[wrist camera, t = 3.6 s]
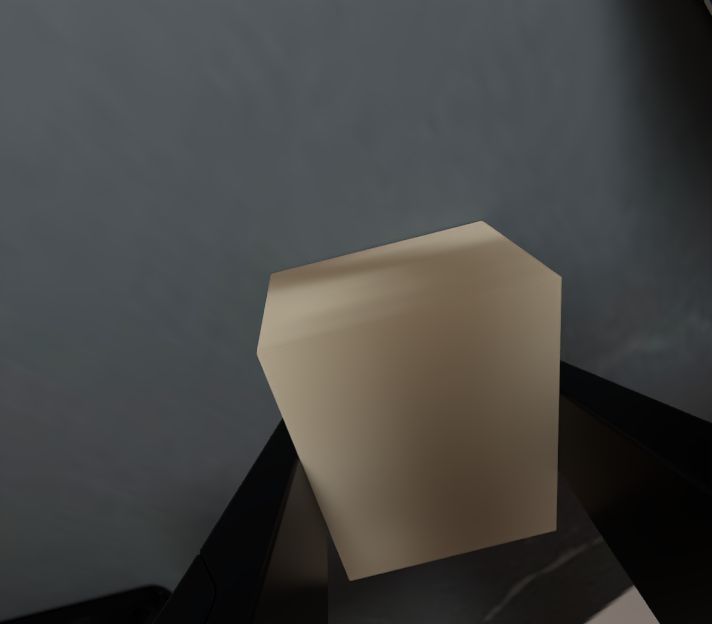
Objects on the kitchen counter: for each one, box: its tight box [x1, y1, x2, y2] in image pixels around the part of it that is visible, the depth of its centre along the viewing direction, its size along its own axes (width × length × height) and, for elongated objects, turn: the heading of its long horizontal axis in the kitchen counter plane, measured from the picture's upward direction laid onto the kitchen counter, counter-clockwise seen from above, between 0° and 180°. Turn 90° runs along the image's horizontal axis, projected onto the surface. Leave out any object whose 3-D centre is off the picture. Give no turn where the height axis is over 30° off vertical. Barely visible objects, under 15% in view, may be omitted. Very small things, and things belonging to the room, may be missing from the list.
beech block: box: [257, 221, 562, 581], centre depth 9 cm, size 4×6×3 cm
